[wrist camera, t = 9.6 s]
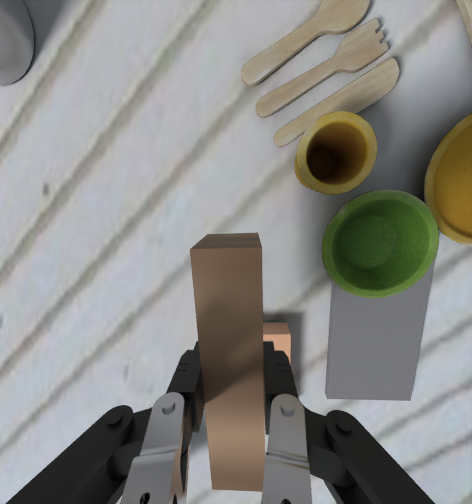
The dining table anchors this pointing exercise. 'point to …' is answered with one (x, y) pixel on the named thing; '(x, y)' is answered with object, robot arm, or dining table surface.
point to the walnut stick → (231, 356)
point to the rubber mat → (375, 343)
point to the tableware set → (366, 158)
